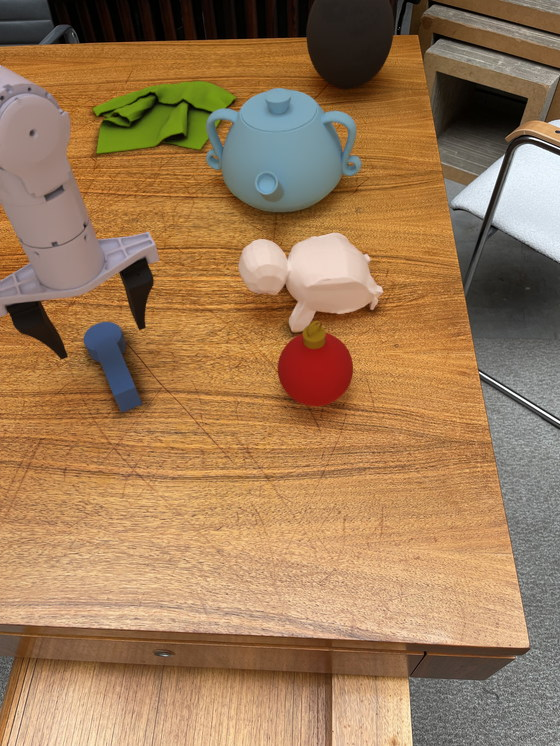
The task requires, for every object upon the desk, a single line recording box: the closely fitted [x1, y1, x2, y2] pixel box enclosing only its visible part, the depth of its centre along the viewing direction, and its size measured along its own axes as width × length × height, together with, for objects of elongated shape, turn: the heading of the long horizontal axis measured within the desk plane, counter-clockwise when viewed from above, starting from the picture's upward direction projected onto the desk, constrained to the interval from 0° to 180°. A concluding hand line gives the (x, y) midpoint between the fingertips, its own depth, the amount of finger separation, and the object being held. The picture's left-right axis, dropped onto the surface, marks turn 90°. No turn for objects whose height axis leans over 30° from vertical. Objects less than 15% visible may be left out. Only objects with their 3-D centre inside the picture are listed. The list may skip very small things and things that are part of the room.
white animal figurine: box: [238, 232, 384, 333], centre depth 67 cm, size 9×8×15 cm
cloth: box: [92, 80, 237, 155], centre depth 93 cm, size 20×22×2 cm
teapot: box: [205, 87, 362, 213], centre depth 76 cm, size 20×20×13 cm
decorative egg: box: [305, 0, 395, 90], centre depth 91 cm, size 12×12×15 cm
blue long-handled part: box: [83, 321, 143, 413], centre depth 65 cm, size 11×4×3 cm, turn 25°
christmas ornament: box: [277, 320, 354, 407], centre depth 59 cm, size 7×7×10 cm
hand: (101, 336), depth 61 cm, fingers open, 7 cm apart
